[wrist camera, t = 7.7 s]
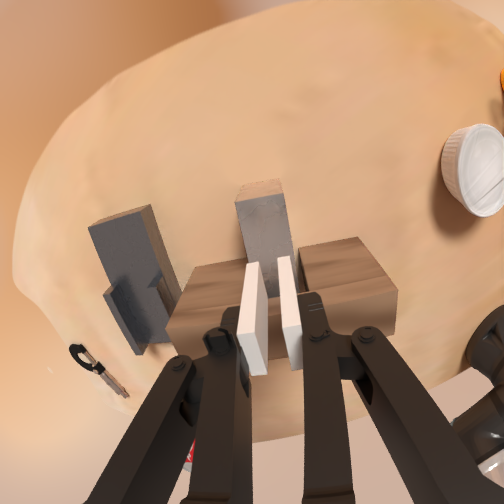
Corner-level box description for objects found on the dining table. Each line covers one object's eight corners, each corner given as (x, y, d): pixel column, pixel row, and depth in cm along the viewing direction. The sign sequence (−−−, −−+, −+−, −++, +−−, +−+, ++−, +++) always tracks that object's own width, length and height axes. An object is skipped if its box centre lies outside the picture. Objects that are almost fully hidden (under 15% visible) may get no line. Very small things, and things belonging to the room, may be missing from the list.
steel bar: (299, 301, 35) (306, 343, 28) (269, 306, 36) (269, 348, 28) (279, 178, 29) (283, 193, 22) (242, 184, 30) (234, 202, 22)
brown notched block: (360, 273, 33) (394, 334, 22) (207, 300, 36) (185, 367, 25) (357, 236, 31) (398, 289, 20) (195, 267, 34) (165, 328, 23)
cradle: (195, 326, 38) (186, 353, 33) (148, 330, 39) (135, 355, 34) (150, 203, 31) (130, 217, 26) (99, 219, 32) (76, 234, 27)
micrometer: (65, 345, 43) (59, 353, 41) (83, 339, 42) (77, 347, 40) (110, 394, 49) (106, 402, 46) (131, 392, 47) (127, 401, 45)
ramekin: (472, 218, 29) (494, 232, 24) (421, 182, 28) (444, 191, 23) (497, 151, 25) (521, 157, 20) (449, 106, 23) (474, 105, 19)
